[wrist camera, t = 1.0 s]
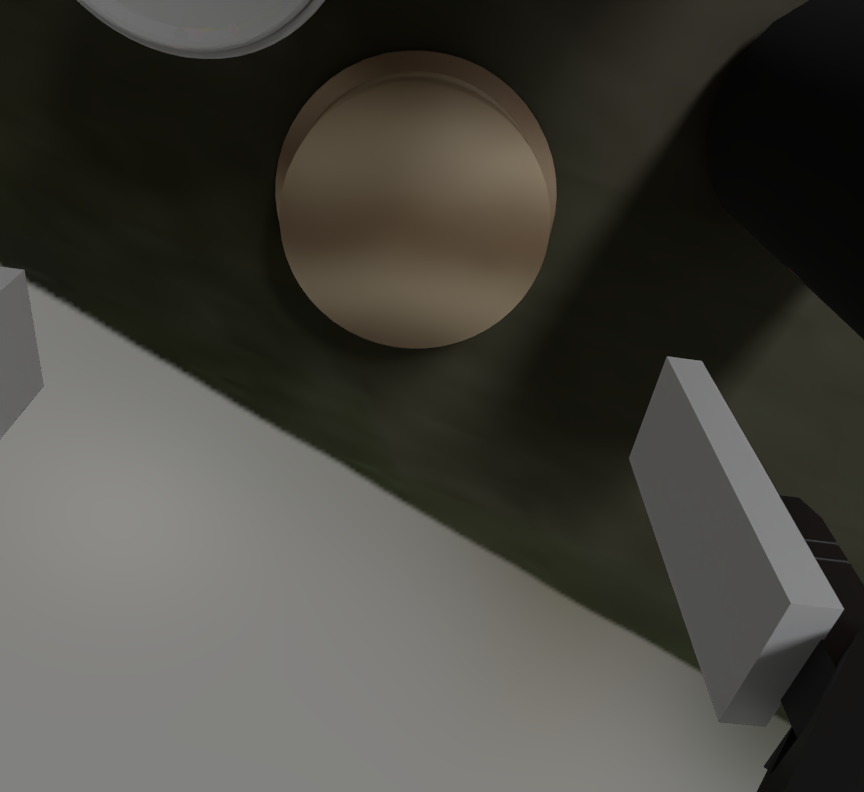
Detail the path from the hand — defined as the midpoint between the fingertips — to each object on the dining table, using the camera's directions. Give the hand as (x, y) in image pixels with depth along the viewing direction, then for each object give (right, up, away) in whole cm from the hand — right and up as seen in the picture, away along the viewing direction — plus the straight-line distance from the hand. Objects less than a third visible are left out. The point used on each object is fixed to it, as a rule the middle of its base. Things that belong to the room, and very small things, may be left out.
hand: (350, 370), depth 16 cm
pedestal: (+1, +9, +19) cm, 21 cm away
